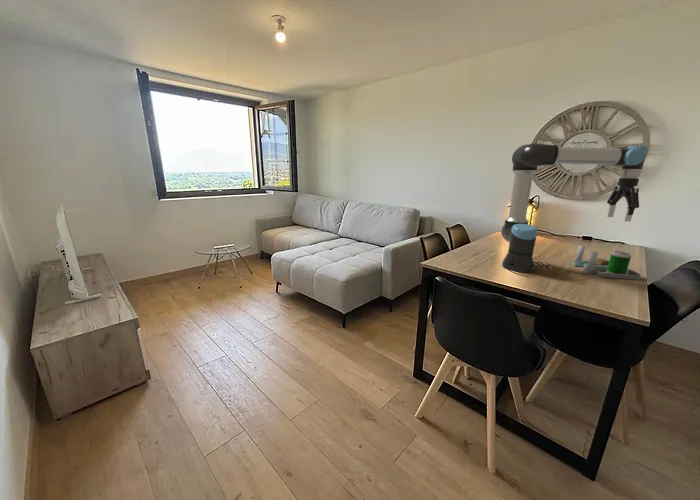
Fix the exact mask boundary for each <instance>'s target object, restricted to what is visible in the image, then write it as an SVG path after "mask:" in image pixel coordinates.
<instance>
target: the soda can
mask: <svg viewBox="0 0 700 500" xmlns="http://www.w3.org/2000/svg"><path fill="white" fill-rule="evenodd" d="M631 258H632V255H631V254H630V253H629V252H627V251H621V250H614V251H613V252H611V254H610V257H609V259H608V261H609V264H608V267H607V271H606V273H616V274H626V272H627V269H628V268H629V265H630V262H631Z"/></svg>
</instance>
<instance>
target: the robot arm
mask: <svg viewBox="0 0 700 500" xmlns="http://www.w3.org/2000/svg"><path fill="white" fill-rule="evenodd" d="M647 154H648V146H647V145H630V146H627V148H623V147H622V148H621V147H619V148H618V147H616V148H615V147H577V146H576V147H575V146H574V147H570V146H566V147H565V146H562V147H561V146H559V145H558V144H548V143H546V144H545V143H540V142H539V143H537V142H536V143H535V142H534V143H533V142H532V143H528V144H523V145H520V146H519V147H518V148H516V149H515V150H514V151H513V154H512V155H511V163H512V164H513V165H512V170H511V171H512V172H513V173H514V180H513V185H512V193H511V199H510V206H509V212H508V217H506V218H505V219H504V225H503V226H502V228H501V236H502V238H503V239H504V240H505V241H506V242H507V243H509V244H508V249H507V254H506V255H505V256H504V259H503V261H502V264H501V266H502V267H503V268H504V269H506V270H509V271H512V272H519V273H532V272H534V271H535V263H534V258H533V256H534V250H535V246H536V245H535V244H536V241H537V237H538V228H537V227H535V226H534V225H531V224H529V220H528V219H527V214H528V213H527V212H528V206H529V201H530V195H531V190H532V183H533V176H534V174H535V173H536V172H537V171H538V167H542V166H554V165H555V164H557V165H558V164H559V165H560V164H563V165H564V164H565V165H567V164H568V165H569V164H570V165H598V166H604V167H605V166H612V167H613V166H618V167H619V166H622V168H621V170H620V173H619V174H620V175H619V177H620V178H618V182H617V186H615V187H614V189H613V191H612V193H611V194H610V196H609V198H608V199H607V201H606V204H608V205H609V206H608V209H607V213H606V218H613V217H614V214H615V211H616V208H617V203H618V202H619V201H620V200H621V199H622V198H623V197H624V198H625V200H626V203H627V208H626V210H625V214H624V219H623V222H632V218H633V215H634V212H635V210H636V209H637V208H638V209H639V208H640V200H639V199H640V198H639V190H640V188H638V187H637V186H638V185H639V182H640V181H639V180H640V177H641V173H642V170H643V167H644V163H645V160H646V157H647Z"/></svg>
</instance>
